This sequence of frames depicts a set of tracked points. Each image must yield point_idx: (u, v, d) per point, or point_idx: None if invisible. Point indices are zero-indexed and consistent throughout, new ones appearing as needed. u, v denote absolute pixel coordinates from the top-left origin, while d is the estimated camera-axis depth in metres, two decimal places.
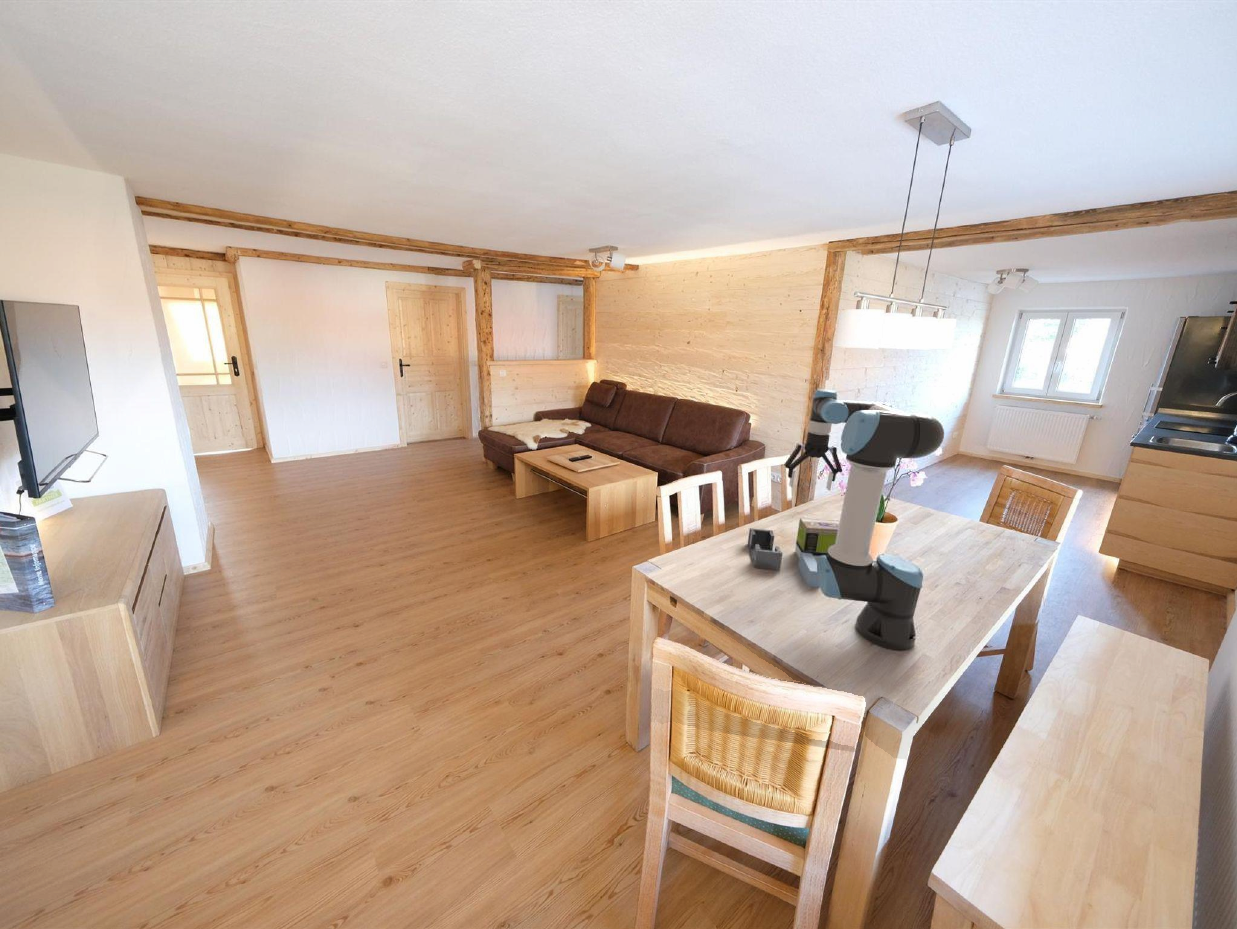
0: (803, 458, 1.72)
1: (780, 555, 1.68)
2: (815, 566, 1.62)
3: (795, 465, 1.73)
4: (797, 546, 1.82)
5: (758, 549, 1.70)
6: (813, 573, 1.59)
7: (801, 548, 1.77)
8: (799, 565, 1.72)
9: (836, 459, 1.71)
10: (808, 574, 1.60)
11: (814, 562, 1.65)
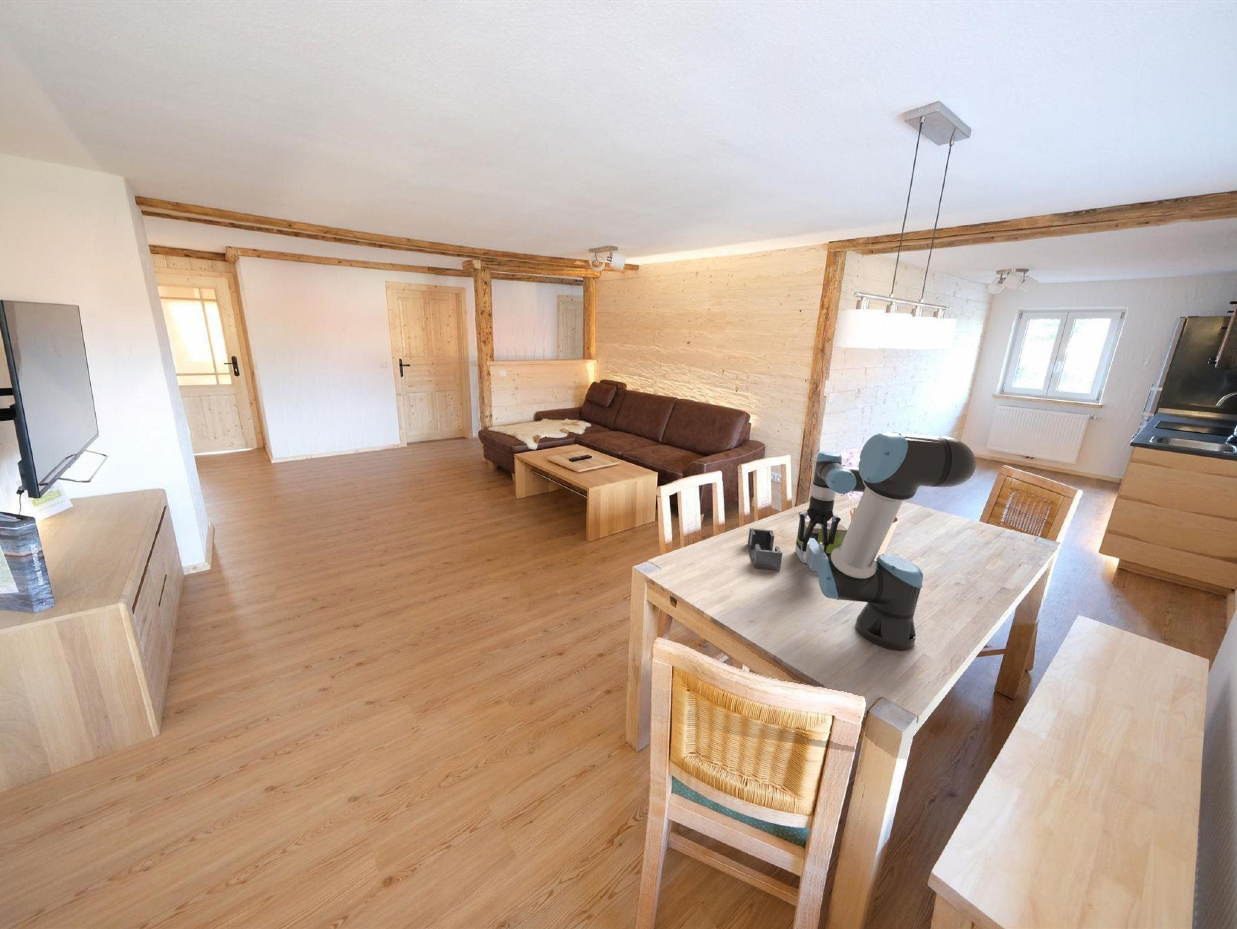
0: (811, 527, 1.60)
1: (780, 555, 1.68)
2: (819, 550, 1.60)
3: (808, 537, 1.61)
4: (797, 546, 1.82)
5: (758, 549, 1.70)
6: (817, 556, 1.56)
7: None
8: (801, 551, 1.70)
9: (834, 530, 1.59)
10: (812, 558, 1.57)
11: (817, 546, 1.63)
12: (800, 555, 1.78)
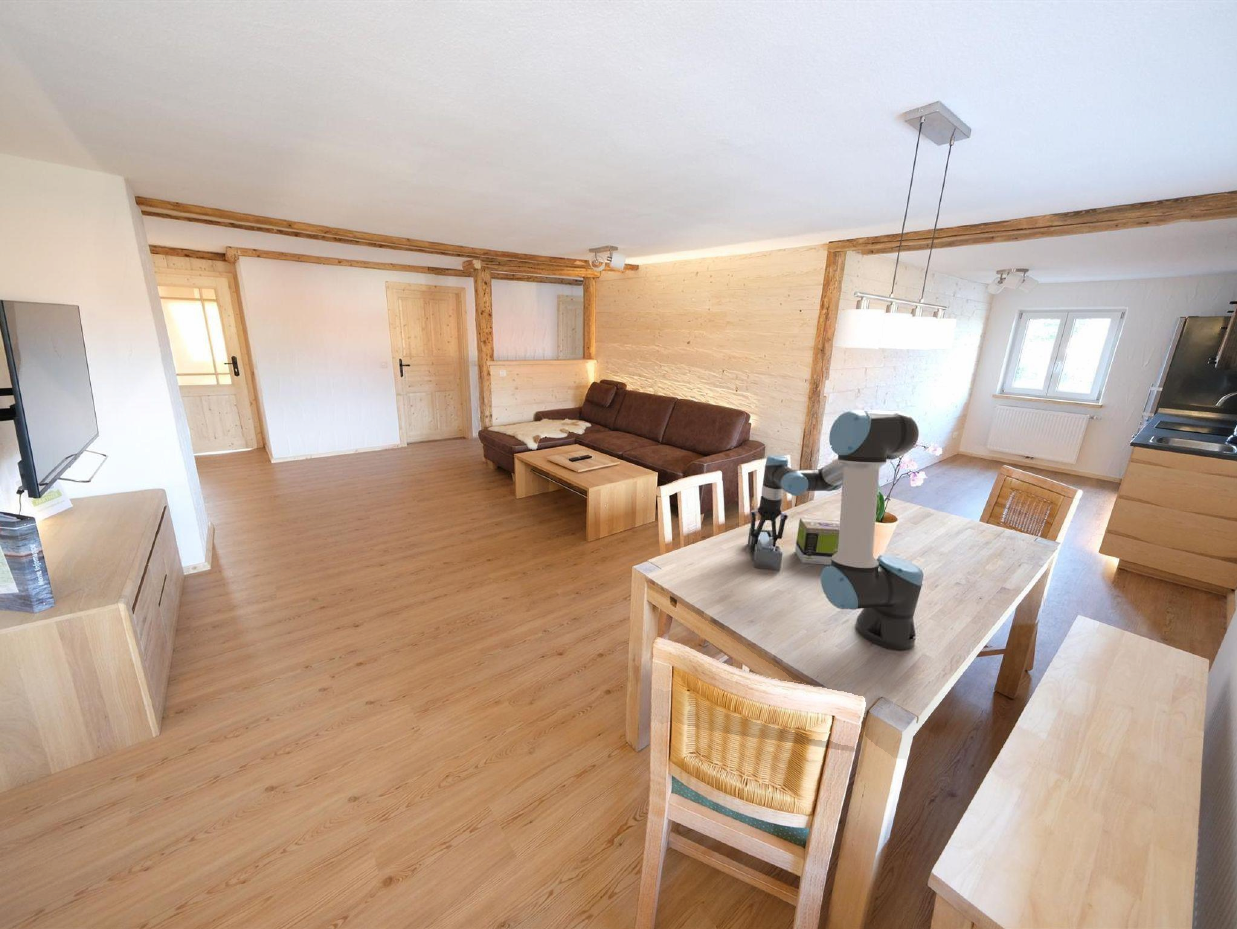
0: (761, 524, 1.75)
1: (780, 555, 1.68)
2: (768, 543, 1.75)
3: (758, 533, 1.76)
4: (797, 546, 1.82)
5: (758, 549, 1.70)
6: (765, 549, 1.72)
7: (801, 548, 1.77)
8: None
9: (782, 526, 1.74)
10: None
11: (768, 539, 1.78)
12: (800, 555, 1.78)
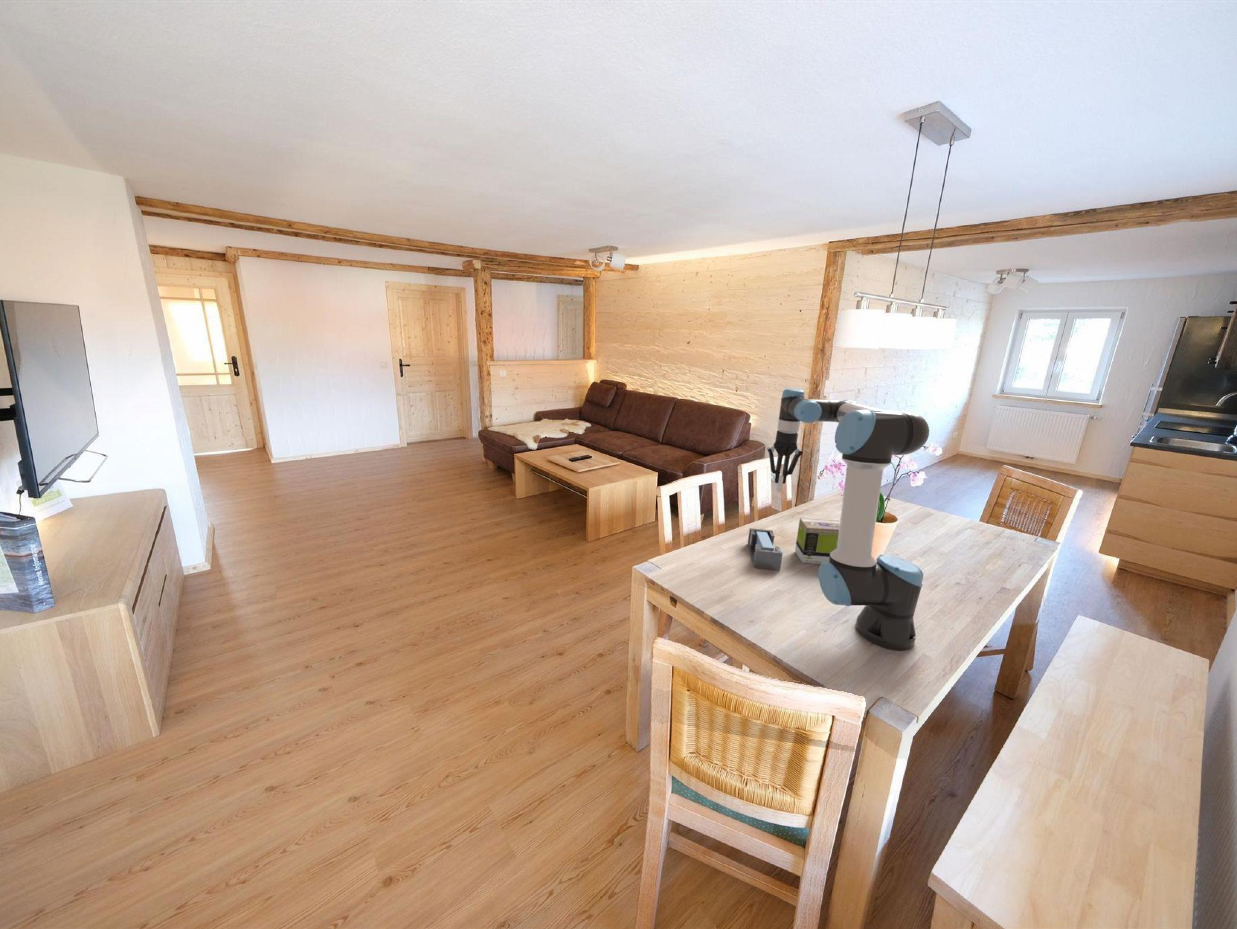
0: (780, 460, 1.75)
1: (780, 555, 1.68)
2: (768, 543, 1.75)
3: (779, 469, 1.76)
4: (797, 546, 1.82)
5: (758, 549, 1.70)
6: (765, 549, 1.72)
7: (801, 548, 1.77)
8: (755, 544, 1.85)
9: (795, 461, 1.75)
10: None
11: (767, 539, 1.78)
12: (800, 555, 1.78)
